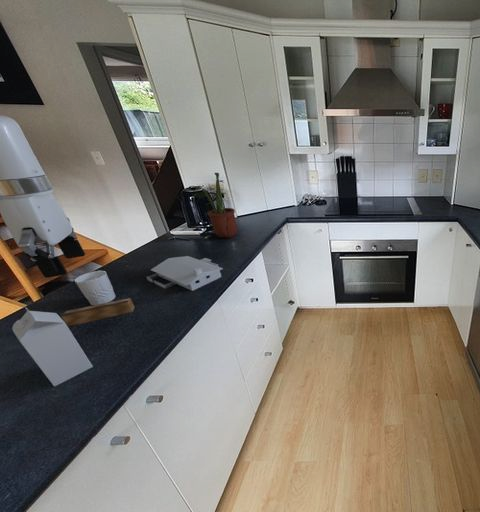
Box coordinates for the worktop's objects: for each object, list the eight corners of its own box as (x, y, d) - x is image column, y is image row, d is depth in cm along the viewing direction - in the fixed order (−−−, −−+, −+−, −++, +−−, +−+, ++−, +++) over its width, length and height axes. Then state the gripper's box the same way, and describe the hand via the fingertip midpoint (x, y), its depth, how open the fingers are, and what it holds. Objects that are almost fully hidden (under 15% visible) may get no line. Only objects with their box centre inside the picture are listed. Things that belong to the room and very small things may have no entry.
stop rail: (67, 326, 86) (60, 315, 84) (72, 321, 88) (64, 309, 86) (132, 312, 93) (127, 300, 90) (134, 307, 95) (129, 296, 93)
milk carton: (84, 356, 75) (47, 299, 67) (93, 367, 72) (56, 309, 63) (46, 374, 69) (1, 315, 61) (54, 387, 66) (8, 326, 58)
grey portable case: (238, 269, 120) (234, 254, 116) (182, 296, 101) (176, 279, 98) (203, 257, 130) (199, 243, 127) (146, 280, 111) (140, 264, 108)
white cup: (118, 291, 103) (106, 268, 99) (117, 301, 98) (105, 277, 94) (89, 299, 99) (76, 275, 94) (87, 309, 93) (72, 284, 89)
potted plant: (237, 230, 162) (222, 170, 146) (244, 238, 151) (229, 174, 136) (203, 237, 152) (183, 173, 136) (209, 246, 141) (188, 178, 126)
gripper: (18, 181, 57) (61, 254, 65) (-44, 199, 43) (19, 289, 51) (67, 177, 60) (102, 247, 68) (24, 194, 47) (74, 279, 54)
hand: (67, 265), depth 59 cm, fingers open, 9 cm apart
